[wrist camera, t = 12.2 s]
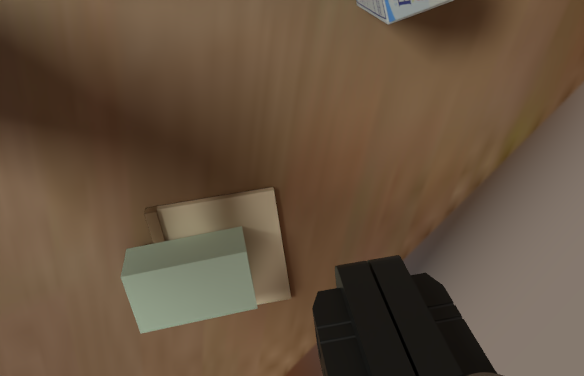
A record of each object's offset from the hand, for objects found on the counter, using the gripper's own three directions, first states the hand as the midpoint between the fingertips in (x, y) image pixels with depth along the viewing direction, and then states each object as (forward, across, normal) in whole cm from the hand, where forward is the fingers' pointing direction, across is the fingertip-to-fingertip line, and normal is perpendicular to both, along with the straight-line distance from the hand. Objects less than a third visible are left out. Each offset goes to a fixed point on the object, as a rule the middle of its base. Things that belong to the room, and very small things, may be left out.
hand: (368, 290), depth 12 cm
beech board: (+29, -6, -18) cm, 35 cm away
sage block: (+26, -15, -18) cm, 35 cm away
